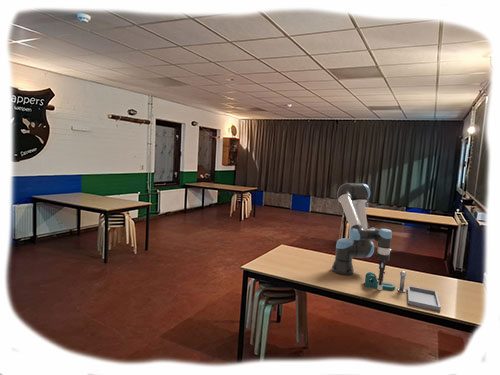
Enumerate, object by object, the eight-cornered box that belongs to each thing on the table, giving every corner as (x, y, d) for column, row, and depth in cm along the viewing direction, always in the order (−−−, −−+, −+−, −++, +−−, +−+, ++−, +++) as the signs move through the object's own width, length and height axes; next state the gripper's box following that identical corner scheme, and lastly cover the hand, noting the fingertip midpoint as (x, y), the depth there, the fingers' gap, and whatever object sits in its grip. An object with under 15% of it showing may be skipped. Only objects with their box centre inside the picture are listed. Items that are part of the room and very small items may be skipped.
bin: (408, 304, 187) (408, 300, 187) (407, 289, 209) (407, 285, 209) (440, 311, 181) (440, 307, 181) (435, 294, 203) (436, 291, 202)
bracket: (365, 286, 210) (366, 274, 209) (364, 282, 217) (365, 271, 216) (395, 291, 206) (396, 279, 205) (394, 287, 212) (395, 275, 211)
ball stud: (397, 291, 205) (399, 271, 204) (397, 289, 209) (399, 269, 207) (404, 292, 203) (407, 273, 202) (404, 290, 207) (406, 270, 206)
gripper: (389, 259, 196) (385, 294, 199) (390, 249, 218) (387, 281, 220) (376, 257, 199) (372, 291, 202) (378, 247, 221) (375, 279, 223)
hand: (380, 286), depth 211 cm, fingers open, 11 cm apart
